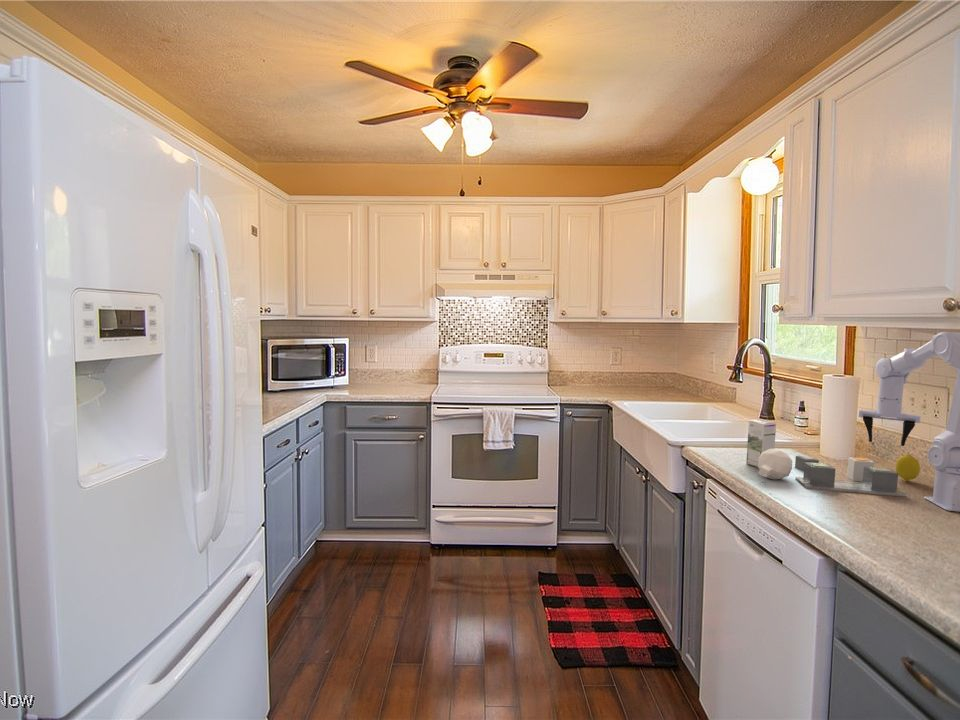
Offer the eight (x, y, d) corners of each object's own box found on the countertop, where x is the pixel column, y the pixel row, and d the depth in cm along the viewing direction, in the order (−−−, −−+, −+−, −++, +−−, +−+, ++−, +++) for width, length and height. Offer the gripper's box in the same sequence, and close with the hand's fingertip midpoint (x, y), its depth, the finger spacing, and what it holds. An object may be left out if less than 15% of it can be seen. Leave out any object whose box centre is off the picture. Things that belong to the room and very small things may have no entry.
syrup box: (774, 467, 165) (777, 422, 164) (760, 469, 163) (763, 423, 162) (758, 462, 170) (761, 418, 169) (745, 464, 168) (748, 419, 167)
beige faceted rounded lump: (762, 464, 161) (743, 476, 154) (772, 439, 157) (754, 450, 150) (791, 479, 155) (773, 492, 148) (802, 453, 151) (785, 465, 144)
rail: (905, 496, 140) (907, 474, 139) (805, 488, 145) (807, 467, 144) (889, 487, 147) (891, 466, 147) (795, 479, 153) (796, 459, 152)
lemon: (892, 477, 157) (895, 451, 157) (916, 480, 154) (919, 453, 154) (896, 482, 152) (898, 455, 152) (920, 485, 150) (923, 458, 149)
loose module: (872, 482, 152) (874, 461, 151) (852, 480, 153) (854, 460, 152) (865, 478, 156) (867, 457, 155) (846, 476, 157) (848, 456, 156)
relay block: (817, 473, 160) (819, 459, 160) (805, 472, 160) (806, 459, 160) (807, 468, 165) (808, 455, 165) (794, 468, 165) (795, 455, 165)
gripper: (920, 399, 156) (916, 444, 157) (860, 394, 165) (856, 437, 166) (922, 402, 151) (918, 449, 152) (860, 397, 159) (856, 441, 160)
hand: (886, 443), depth 158 cm, fingers open, 7 cm apart
